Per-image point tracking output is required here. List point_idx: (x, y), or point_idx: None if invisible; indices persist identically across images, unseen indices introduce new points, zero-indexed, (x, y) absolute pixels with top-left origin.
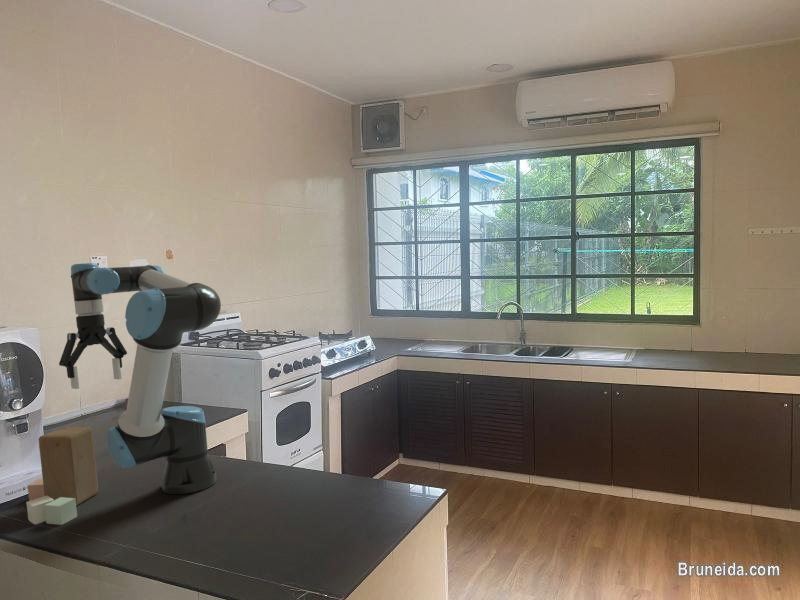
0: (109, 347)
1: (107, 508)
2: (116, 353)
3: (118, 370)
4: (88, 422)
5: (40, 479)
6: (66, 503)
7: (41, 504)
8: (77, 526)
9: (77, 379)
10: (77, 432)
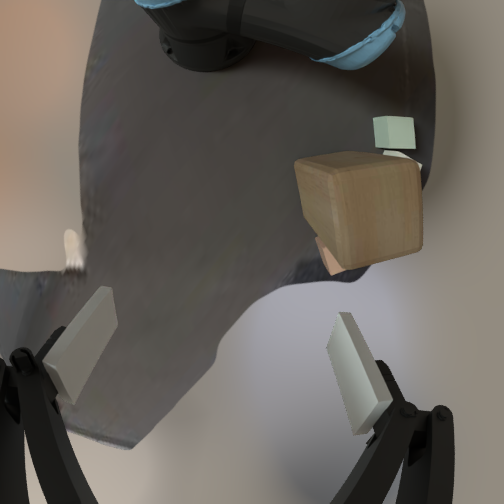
0: (59, 464)
1: (337, 91)
2: (37, 396)
3: (89, 315)
4: (101, 425)
5: (332, 269)
6: (401, 117)
7: (412, 159)
8: (394, 90)
9: (356, 343)
10: (385, 169)
